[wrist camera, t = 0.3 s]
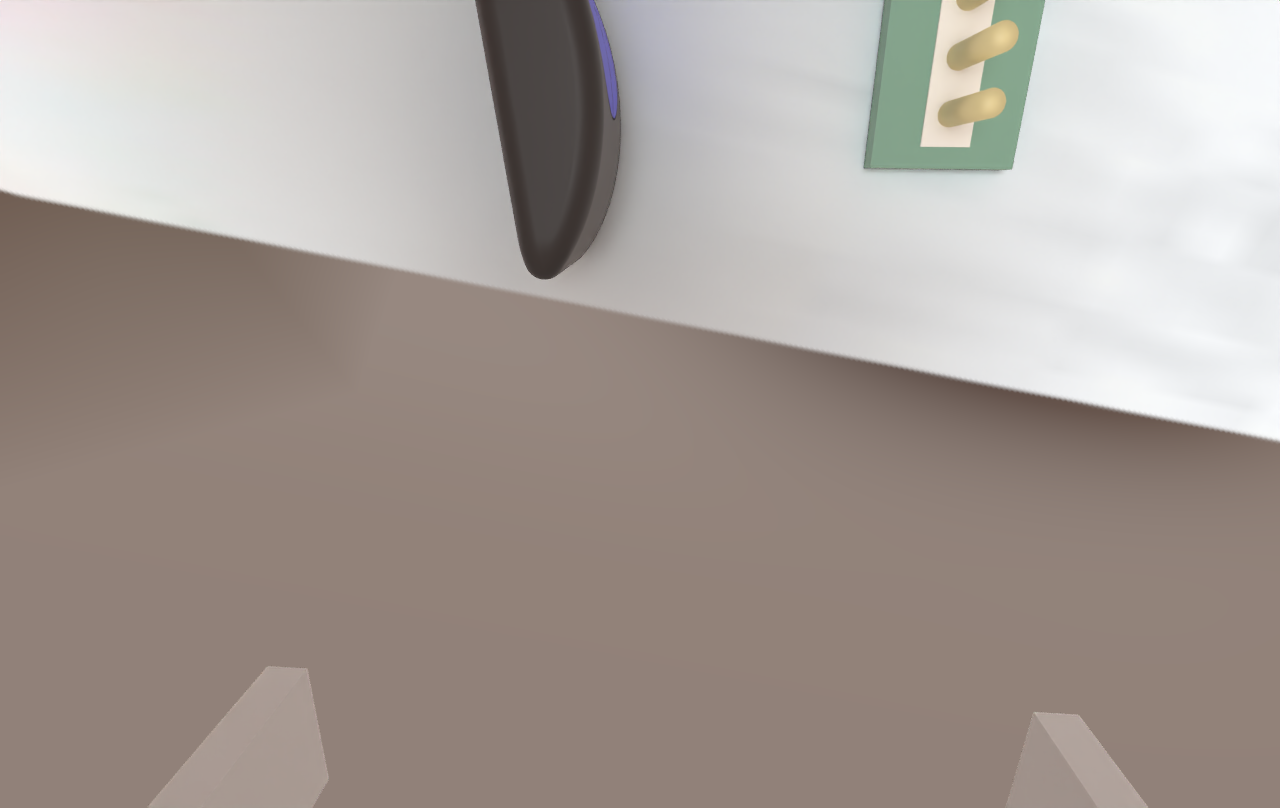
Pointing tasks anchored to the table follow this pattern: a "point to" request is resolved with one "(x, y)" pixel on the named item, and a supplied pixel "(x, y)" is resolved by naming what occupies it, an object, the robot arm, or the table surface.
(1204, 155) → the table surface
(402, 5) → the table surface
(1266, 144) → the table surface
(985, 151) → the header
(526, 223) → the computer mouse
